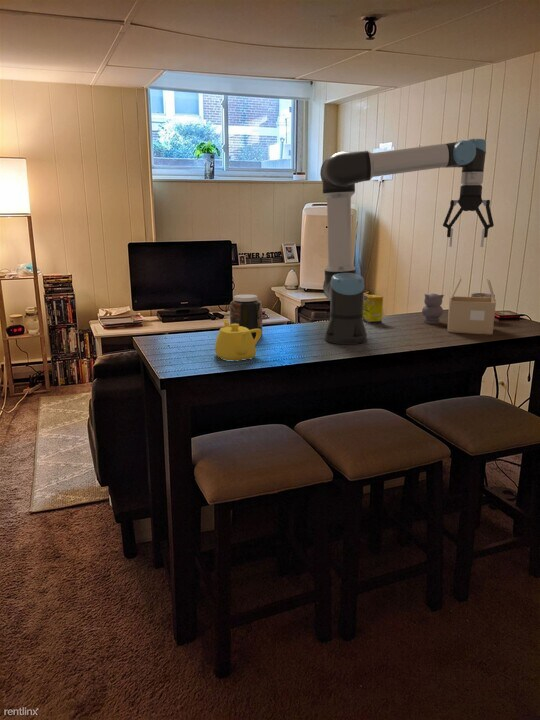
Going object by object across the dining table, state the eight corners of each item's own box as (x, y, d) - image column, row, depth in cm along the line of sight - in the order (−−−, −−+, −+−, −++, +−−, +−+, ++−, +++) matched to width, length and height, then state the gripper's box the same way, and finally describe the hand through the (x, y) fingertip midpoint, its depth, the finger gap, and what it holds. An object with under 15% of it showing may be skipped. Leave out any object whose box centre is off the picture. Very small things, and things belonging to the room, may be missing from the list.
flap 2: (491, 297, 214) (493, 296, 214) (494, 301, 204) (495, 301, 204) (485, 276, 213) (487, 276, 212) (488, 280, 203) (489, 279, 202)
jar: (243, 340, 200) (242, 299, 195) (224, 335, 208) (223, 295, 204) (268, 335, 207) (268, 296, 203) (249, 330, 215) (248, 292, 211)
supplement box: (362, 320, 232) (363, 295, 229) (375, 320, 234) (376, 294, 231) (368, 323, 227) (370, 297, 224) (381, 322, 228) (383, 296, 225)
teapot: (274, 362, 173) (274, 328, 170) (227, 367, 167) (226, 333, 164) (250, 346, 192) (250, 315, 189) (207, 350, 187) (206, 319, 184)
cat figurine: (441, 320, 231) (443, 292, 228) (443, 324, 224) (446, 295, 221) (420, 320, 233) (422, 291, 229) (422, 324, 225) (424, 295, 222)
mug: (497, 320, 230) (500, 295, 228) (479, 322, 227) (481, 297, 224) (477, 315, 241) (479, 291, 238) (460, 317, 238) (462, 292, 235)
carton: (447, 332, 211) (450, 301, 208) (447, 325, 222) (449, 296, 219) (492, 334, 207) (495, 303, 203) (489, 327, 218) (492, 297, 215)
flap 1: (451, 300, 208) (450, 299, 208) (450, 295, 218) (449, 295, 218) (461, 279, 205) (460, 279, 205) (460, 275, 215) (459, 275, 215)
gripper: (438, 184, 200) (434, 246, 206) (506, 183, 194) (499, 247, 200) (438, 185, 207) (434, 245, 213) (504, 184, 201) (497, 246, 207)
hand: (465, 246), depth 207 cm, fingers open, 10 cm apart
